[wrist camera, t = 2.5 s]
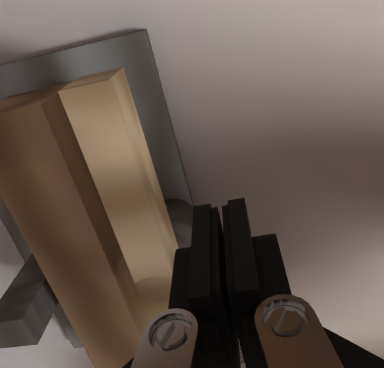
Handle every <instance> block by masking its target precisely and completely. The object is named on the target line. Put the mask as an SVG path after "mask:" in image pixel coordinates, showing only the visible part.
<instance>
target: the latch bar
mask: <svg viewBox="0 0 384 368" xmlns="http://www.w3.org/2000/svg"><path fill="white" fill-rule="evenodd" d="M58 93H59V96H60V98H61V101H62V103H63V106H64V108H65V111H66V113H67V116H68V118H69V121H70V123H71V125H72V128H73V130H74V133H75V135H76V138H77V140H78V143H79V145H80V148H81V150H82V153H83V155H84V158H85V160H86V163H87V165H88V168H89V170H90V173H91V175H92V178H93V180H94V183H95V185H96V188H97V190H98V193H99V195H100V198H101V200H102V203H103V205H104V208H105V210H106V213H107V215H108V218H109V220H110V223H111V225H112V228H113V230H114V233H115V235H116V238H117V240H118V243H119V245H120V248H121V250H122V253H123V255H124V258H125V260H126V263H127V265H128V268H129V270H130V273H131V275H132V278H133V280H134V284H133V287H132V291H131V300H132V302H133V304H134V306H135V307H136V308H137V309H138V310H139V311H140V312H142V313H143V314H145V315H147V316H149V317H152V318H153V317H154V316H156V315H157V314H159V313H160V312H163V311H165V310H168V305H169V297H170V289H171V281H172V273H173V265H174V257H175V251H176V249H179V247H178V244H177V241H176V237H175V234H174V231H173V228H172V224H171V221H170V218H169V215H168V211H167V208H166V205H165V202H164V198H163V195H162V192H161V189H160V185H159V182H158V179H157V176H156V172H155V169H154V166H153V163H152V159H151V156H150V153H149V150H148V146H147V143H146V140H145V137H144V133H143V130H142V127H141V124H140V120H139V117H138V114H137V110H136V107H135V104H134V101H133V97H132V94H131V91H130V88H129V84H128V81H127V78H126V75H125V71H124V68H123V67H121V68H116V69H112V70H108V71H103V72H99V73H95V74H90V75H86V76H82V77H78V78H77V79H75V80H74V81H72V82H71V83H70V84H68V85H67V86H65V87H64V88H62V89H61V90H59V91H58Z"/></svg>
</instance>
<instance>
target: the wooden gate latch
mask: <svg viewBox="0 0 384 368" xmlns="http://www.w3.org/2000/svg"><path fill="white" fill-rule="evenodd" d="M121 67H123V68H124V71H125V75H126V78H127V81H128V84H129V88H130V91H131V94H132V97H133V101H134V104H135V107H136V110H137V114H138V117H139V120H140V124H141V127H142V130H143V133H144V137H145V140H146V143H147V146H148V150H149V153H150V156H151V159H152V163H153V166H154V169H155V172H156V176H157V179H158V182H159V185H160V189H161V192H162V195H163V198H164V202H165V205H166V208H167V211H168V215H169V218H170V221H171V224H172V228H173V231H174V234H175V237H176V241H177V244H178V247H179V248H186V247H191V236H192V222H193V208H194V206H193V202H192V198H191V194H190V191H189V187H188V183H187V179H186V176H185V172H184V168H183V164H182V161H181V157H180V153H179V149H178V146H177V142H176V138H175V134H174V130H173V127H172V123H171V119H170V115H169V112H168V108H167V104H166V100H165V97H164V93H163V89H162V85H161V81H160V78H159V74H158V70H157V66H156V63H155V59H154V55H153V51H152V48H151V44H150V40H149V36H148V33H147V29H145V30H141V31H137V32H133V33H129V34H125V35H121V36H117V37H113V38H109V39H105V40H101V41H97V42H93V43H89V44H85V45H80V46H76V47H72V48H68V49H64V50H60V51H56V52H52V53H48V54H44V55H40V56H36V57H32V58H28V59H24V60H20V61H15V62H11V63H7V64H3V65H0V218H1V220H2V221H3V223H4V225H5V227H6V229H7V230H8V232H9V234H10V236H11V237H12V239H13V241H14V243H15V244H16V246H17V248H18V250H19V252H20V253H21V255H22V257H23V259H24V260H25V262H26V263H25V264H24V266H23V267H22V269H21V270H20V272H19V273H18V275H17V276H16V278H15V279H14V280H13V282H12V283H11V285H10V286H9V288H8V289H7V291H6V292H5V294H4V295H3V296H2V298H1V299H0V348H7V347H17V346H27V345H36V344H38V342H39V340H40V338H41V336H42V334H43V332H44V330H45V328H46V326H47V324H48V322H49V320H50V318H51V316H52V314H53V312H54V313H55V315H56V317H57V319H58V321H59V322H60V324H61V326H62V328H63V329H64V331H65V333H66V335H67V336H68V338H69V340H70V342H71V344H72V345H73V347H74V348H82V347H84V349H85V351H86V352H87V354H88V356H89V358H90V360H91V362H92V363H93V365H94V367H95V368H122V367H123V366H124V365H125V364H127V363H128V362H129V361H130V360H131V359H132V358H133V357H134V356H135V354H136V351H137V348H138V345H139V342H140V339H141V337H142V334H143V331H144V329H145V327H146V325H147V323H148V322H149V321H150V320H151V319H152V317H149V316H147V315H145V314H143V313H142V312H140V311H139V310H138V309H137V308H136V307H135V306H134V304H133V302H132V300H131V291H132V287H133V284H134V280H133V278H132V275H131V273H130V270H129V268H128V265H127V263H126V260H125V258H124V255H123V253H122V250H121V248H120V245H119V243H118V240H117V238H116V235H115V233H114V230H113V228H112V225H111V223H110V220H109V218H108V215H107V213H106V210H105V208H104V205H103V203H102V200H101V198H100V195H99V193H98V190H97V188H96V185H95V183H94V180H93V178H92V175H91V173H90V170H89V168H88V165H87V163H86V160H85V158H84V155H83V153H82V150H81V148H80V145H79V143H78V140H77V138H76V135H75V133H74V130H73V128H72V125H71V123H70V121H69V118H68V116H67V113H66V111H65V108H64V106H63V103H62V101H61V98H60V96H59V93H58V91H59V90H61V89H62V88H64V87H65V86H67V85H68V84H70V83H71V82H72V81H74V80H75V79H77V78H78V77H82V76H86V75H90V74H95V73H99V72H103V71H108V70H112V69H116V68H121Z"/></svg>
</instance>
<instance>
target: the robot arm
mask: <svg viewBox="0 0 384 368" xmlns="http://www.w3.org/2000/svg"><path fill="white" fill-rule="evenodd" d="M222 213H223V229H222V224H221V220H220V216H219V211H218V208H217V207H214V208H212V207H211V204H205V205H199V206H194V208H193V222H192V236H191V247H186V248H179V249H176V251H175V257H174V265H173V273H172V281H171V289H170V297H169V305H168V310H165V311H163V312H160V313H159V314H157V315H156V316H154V317H153V318H152V319H151V320H150V321H149V322H148V323H147V325H146V327H145V329H144V331H143V334H142V337H141V339H140V342H139V345H138V348H137V351H136V354H135V356H134V357H133V358H132V359H131V360H130V361H129V362H128V363H127V364H125V365H124V366H123V367H122V368H241V365H240V353H239V342H240V346H241V350H242V354H243V358H244V362H245V366H246V368H384V360H383V359H381V358H379V357H378V356H376V355H374V354H372V353H370V352H368V351H367V350H365V349H363V348H361V347H359V346H357V345H356V344H354V343H352V342H350V341H348V340H346V339H344V338H343V337H341V336H339V335H337V334H335V333H333V332H332V331H330V330H328V329H326V328H324V327H322V325H321V323H320V321H319V319H318V317H317V315H316V313H315V311H314V309H313V308H312V307H311V306H310V304H309V303H308V302H306V301H305V300H303V299H302V298H300V297H297V296H294V295H292V294H291V290H290V286H289V283H288V279H287V275H286V271H285V267H284V264H283V260H282V256H281V252H280V248H279V245H278V241H277V237H276V234H269V235H262V236H256V237H252V236H251V231H250V225H249V220H248V215H247V209H246V204H245V199H244V198H240V199H234V200H229V201H228V205H225V206H222ZM223 230H224V233H223ZM238 338H239V341H238Z"/></svg>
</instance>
